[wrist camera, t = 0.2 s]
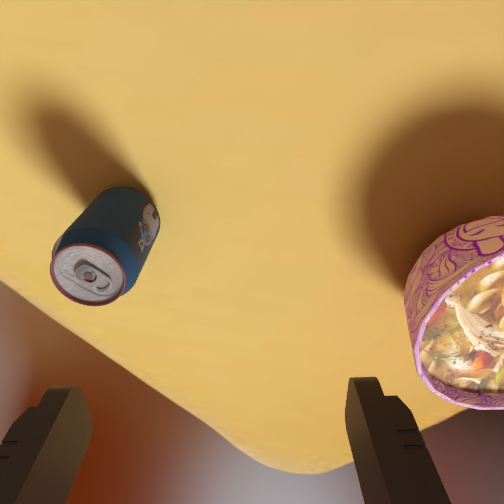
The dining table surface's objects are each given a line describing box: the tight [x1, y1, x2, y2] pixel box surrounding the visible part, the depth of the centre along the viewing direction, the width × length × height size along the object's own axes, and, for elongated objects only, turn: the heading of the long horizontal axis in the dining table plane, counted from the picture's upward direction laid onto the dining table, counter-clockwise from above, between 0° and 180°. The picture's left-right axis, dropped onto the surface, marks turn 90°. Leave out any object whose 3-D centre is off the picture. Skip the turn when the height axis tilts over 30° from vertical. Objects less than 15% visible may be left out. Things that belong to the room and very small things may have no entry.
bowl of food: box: [404, 216, 504, 410], centre depth 38 cm, size 20×20×12 cm
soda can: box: [50, 187, 160, 306], centre depth 35 cm, size 7×7×12 cm
